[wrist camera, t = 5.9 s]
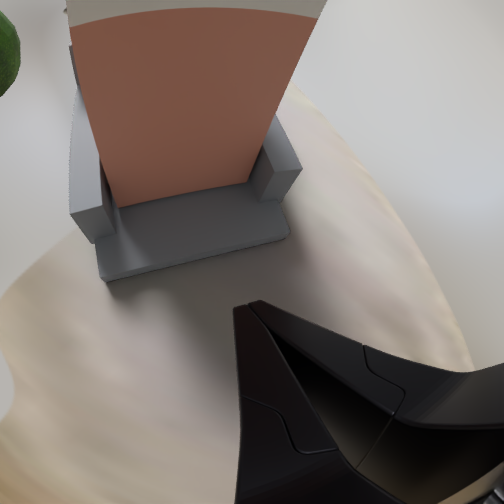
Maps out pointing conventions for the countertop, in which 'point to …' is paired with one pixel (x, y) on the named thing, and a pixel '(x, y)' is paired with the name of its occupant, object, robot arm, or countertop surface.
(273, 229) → the housing
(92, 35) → the pink white rectangular block
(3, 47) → the avocado
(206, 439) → the countertop surface
